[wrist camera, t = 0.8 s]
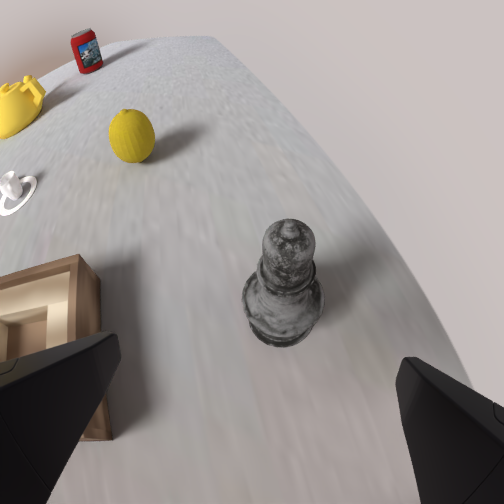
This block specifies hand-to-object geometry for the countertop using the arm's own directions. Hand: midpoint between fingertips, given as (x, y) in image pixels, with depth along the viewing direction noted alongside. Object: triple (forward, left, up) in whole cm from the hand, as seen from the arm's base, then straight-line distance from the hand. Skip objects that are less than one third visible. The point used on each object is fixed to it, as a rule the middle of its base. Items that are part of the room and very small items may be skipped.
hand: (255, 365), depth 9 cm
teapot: (+65, +40, -15) cm, 77 cm away
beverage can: (+81, +24, -15) cm, 85 cm away
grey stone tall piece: (+7, -3, -15) cm, 16 cm away
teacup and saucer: (+36, +28, -15) cm, 48 cm away
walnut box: (+7, +20, -14) cm, 25 cm away
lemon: (+31, +8, -15) cm, 35 cm away
